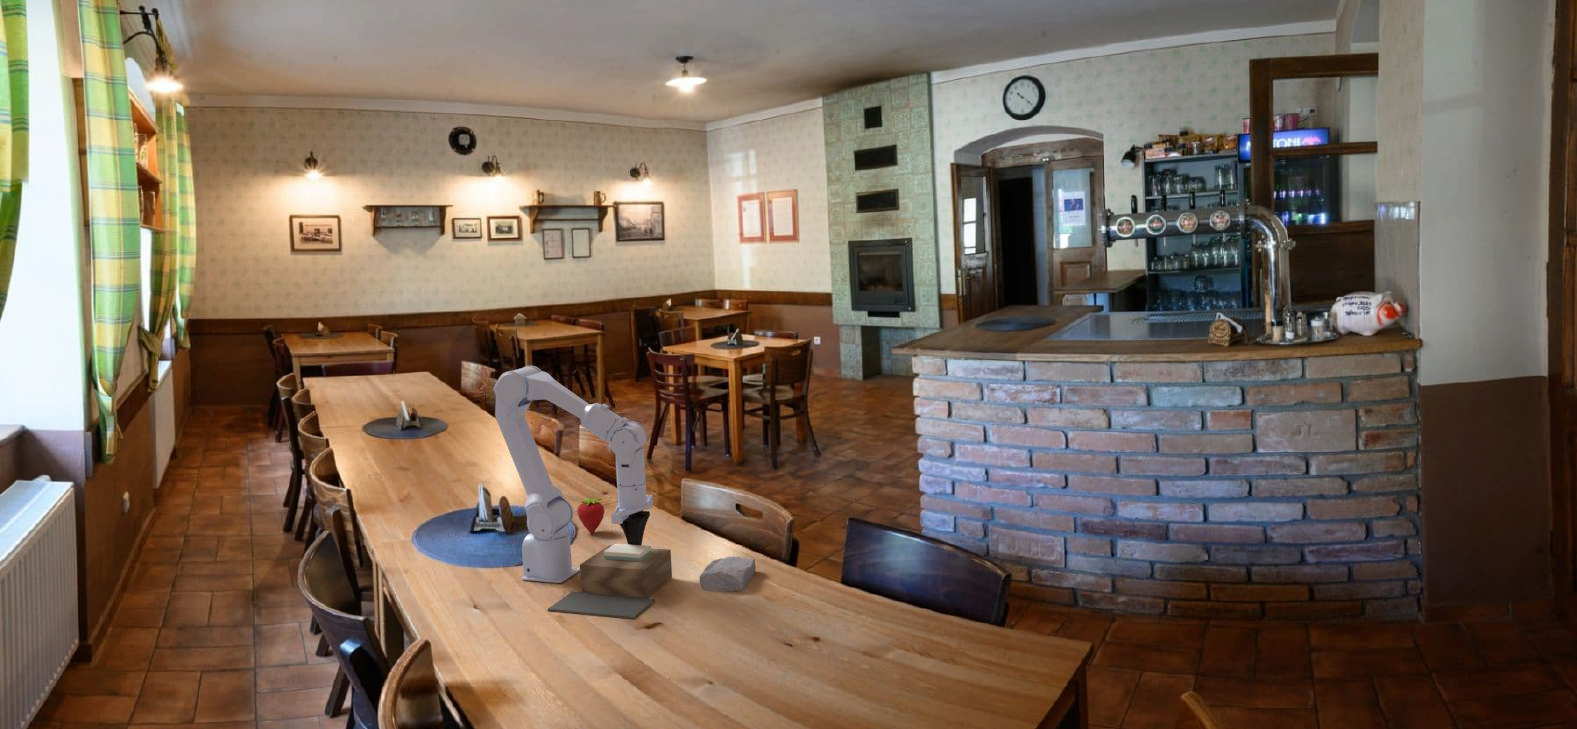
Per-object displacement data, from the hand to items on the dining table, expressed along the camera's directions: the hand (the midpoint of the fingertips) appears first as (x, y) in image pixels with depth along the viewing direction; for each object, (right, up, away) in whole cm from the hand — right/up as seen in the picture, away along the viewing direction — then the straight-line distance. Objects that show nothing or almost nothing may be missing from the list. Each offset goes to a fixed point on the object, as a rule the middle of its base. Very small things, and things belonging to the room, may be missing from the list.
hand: (635, 548), depth 187 cm
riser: (-1, -7, -3) cm, 8 cm away
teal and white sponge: (-1, -1, -3) cm, 3 cm away
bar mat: (-4, -8, -13) cm, 16 cm away
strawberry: (-16, -3, +33) cm, 37 cm away
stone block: (+19, -7, -2) cm, 20 cm away
